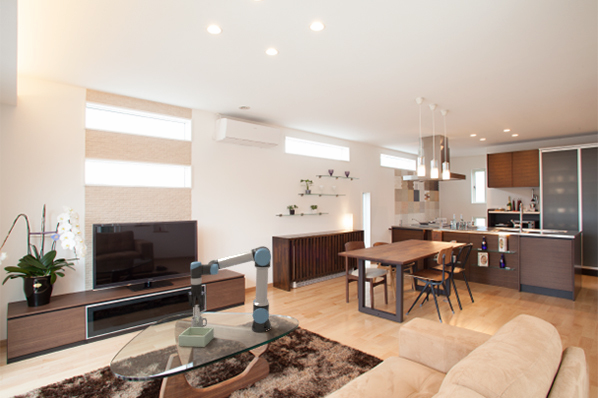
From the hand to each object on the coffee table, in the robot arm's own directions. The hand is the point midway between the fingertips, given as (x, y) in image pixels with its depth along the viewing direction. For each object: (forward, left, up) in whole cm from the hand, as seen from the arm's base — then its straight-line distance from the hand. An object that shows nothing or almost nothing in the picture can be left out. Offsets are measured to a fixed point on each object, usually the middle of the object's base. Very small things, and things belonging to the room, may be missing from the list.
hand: (197, 315), depth 240 cm
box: (0, +2, -18) cm, 18 cm away
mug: (+6, -16, -18) cm, 25 cm away
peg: (0, 0, -4) cm, 4 cm away
